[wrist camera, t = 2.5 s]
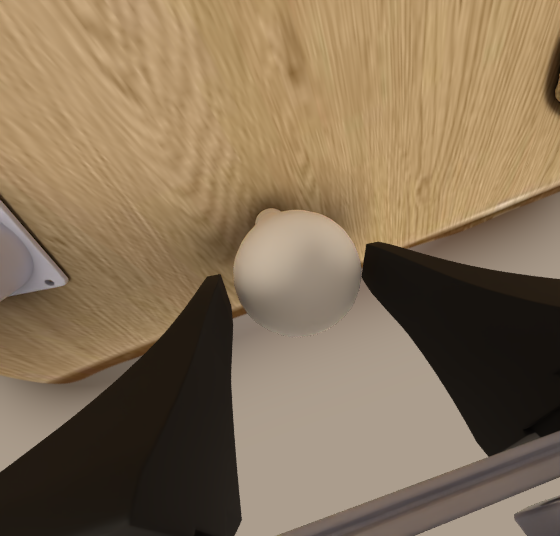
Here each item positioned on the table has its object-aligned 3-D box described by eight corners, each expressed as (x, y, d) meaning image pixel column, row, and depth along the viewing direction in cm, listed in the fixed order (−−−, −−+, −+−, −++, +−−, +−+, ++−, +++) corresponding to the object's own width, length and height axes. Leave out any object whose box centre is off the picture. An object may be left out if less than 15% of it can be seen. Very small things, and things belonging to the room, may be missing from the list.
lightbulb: (223, 244, 17) (217, 365, 8) (242, 168, 14) (269, 218, 5) (288, 259, 19) (343, 367, 10) (316, 196, 16) (425, 265, 7)
